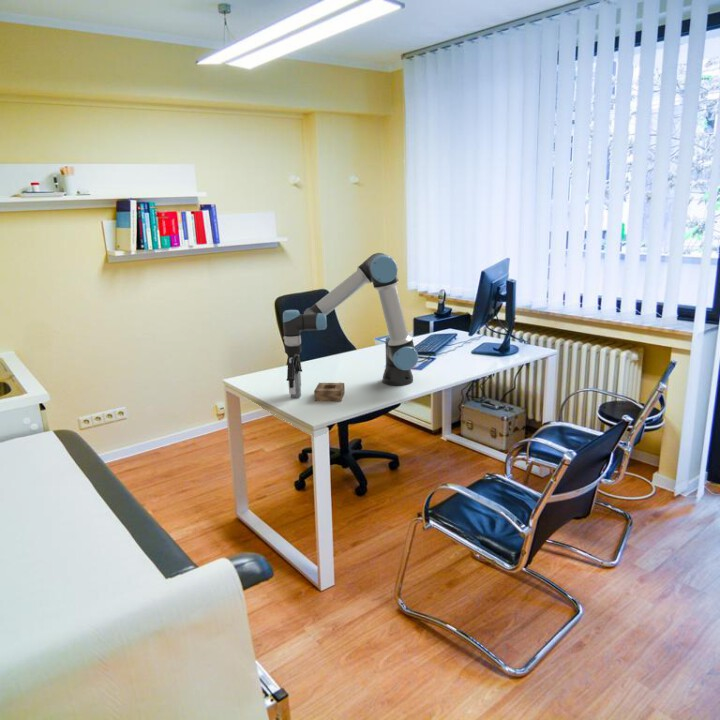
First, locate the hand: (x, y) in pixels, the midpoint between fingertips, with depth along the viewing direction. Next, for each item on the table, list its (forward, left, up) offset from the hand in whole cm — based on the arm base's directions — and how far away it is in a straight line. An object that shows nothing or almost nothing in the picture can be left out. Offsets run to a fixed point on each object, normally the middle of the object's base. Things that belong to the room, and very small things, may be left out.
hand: (295, 389), depth 271 cm
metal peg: (0, 0, -3) cm, 3 cm away
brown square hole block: (-16, 0, -3) cm, 16 cm away
